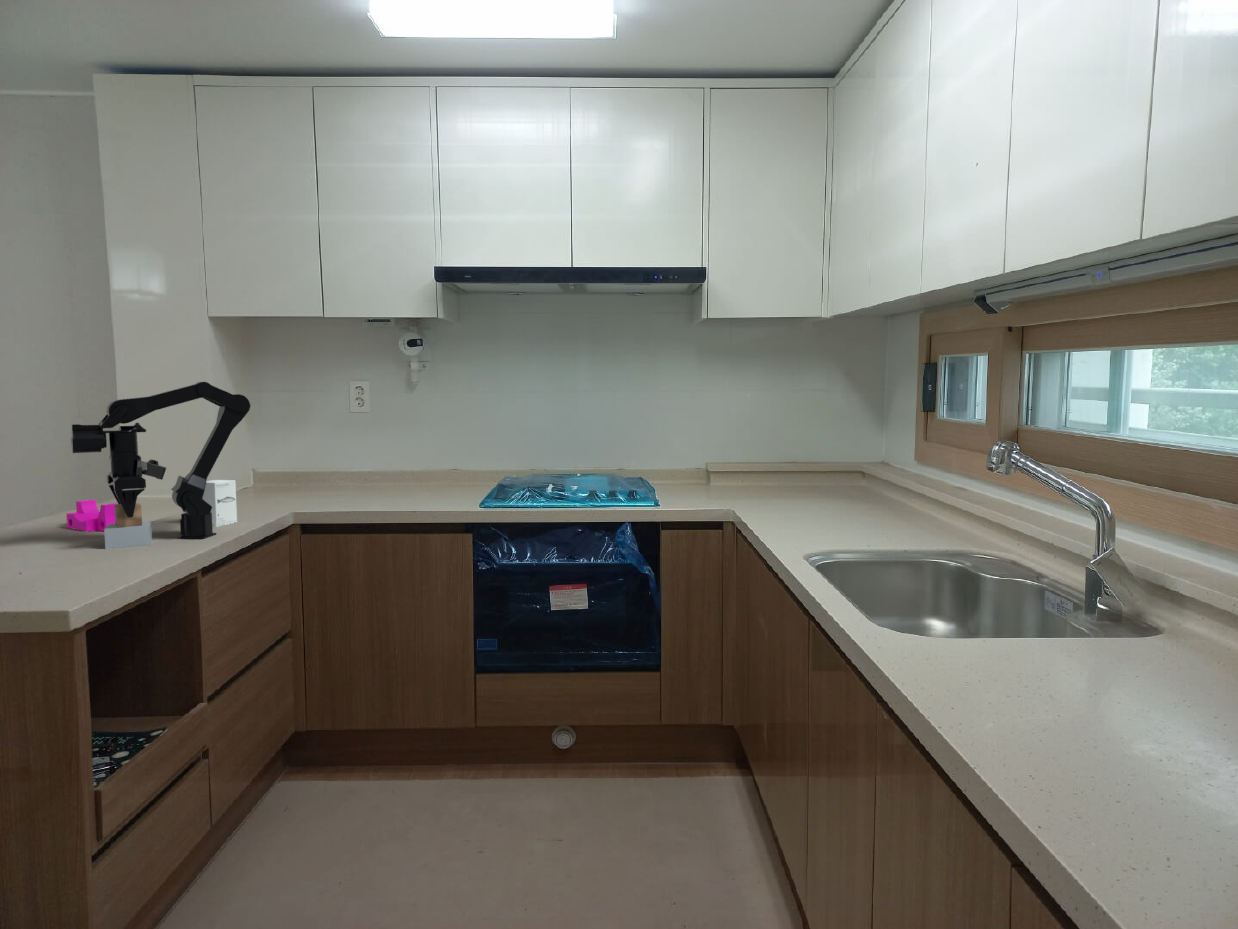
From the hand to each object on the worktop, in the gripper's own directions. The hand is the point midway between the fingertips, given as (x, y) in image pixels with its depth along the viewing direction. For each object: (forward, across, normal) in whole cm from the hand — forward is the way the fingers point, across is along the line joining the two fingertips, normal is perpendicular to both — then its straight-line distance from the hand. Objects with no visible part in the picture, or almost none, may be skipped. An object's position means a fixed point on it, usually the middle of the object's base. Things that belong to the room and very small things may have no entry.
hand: (127, 514), depth 185 cm
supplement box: (+8, +16, -22) cm, 29 cm away
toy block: (+8, +29, +5) cm, 31 cm away
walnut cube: (+2, 0, 0) cm, 3 cm away
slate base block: (+8, 0, 0) cm, 8 cm away
